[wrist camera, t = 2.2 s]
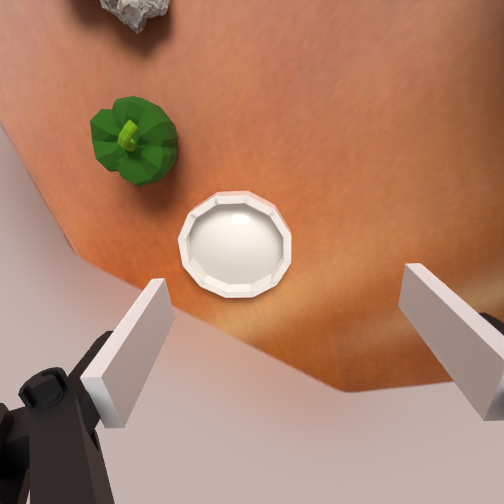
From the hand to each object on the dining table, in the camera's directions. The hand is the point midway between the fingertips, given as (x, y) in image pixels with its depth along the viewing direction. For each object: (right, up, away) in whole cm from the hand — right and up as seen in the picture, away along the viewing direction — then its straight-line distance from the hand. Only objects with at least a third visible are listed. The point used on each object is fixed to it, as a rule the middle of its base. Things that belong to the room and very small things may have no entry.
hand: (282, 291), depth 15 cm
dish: (-4, +4, +24) cm, 24 cm away
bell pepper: (-14, +16, +19) cm, 28 cm away
